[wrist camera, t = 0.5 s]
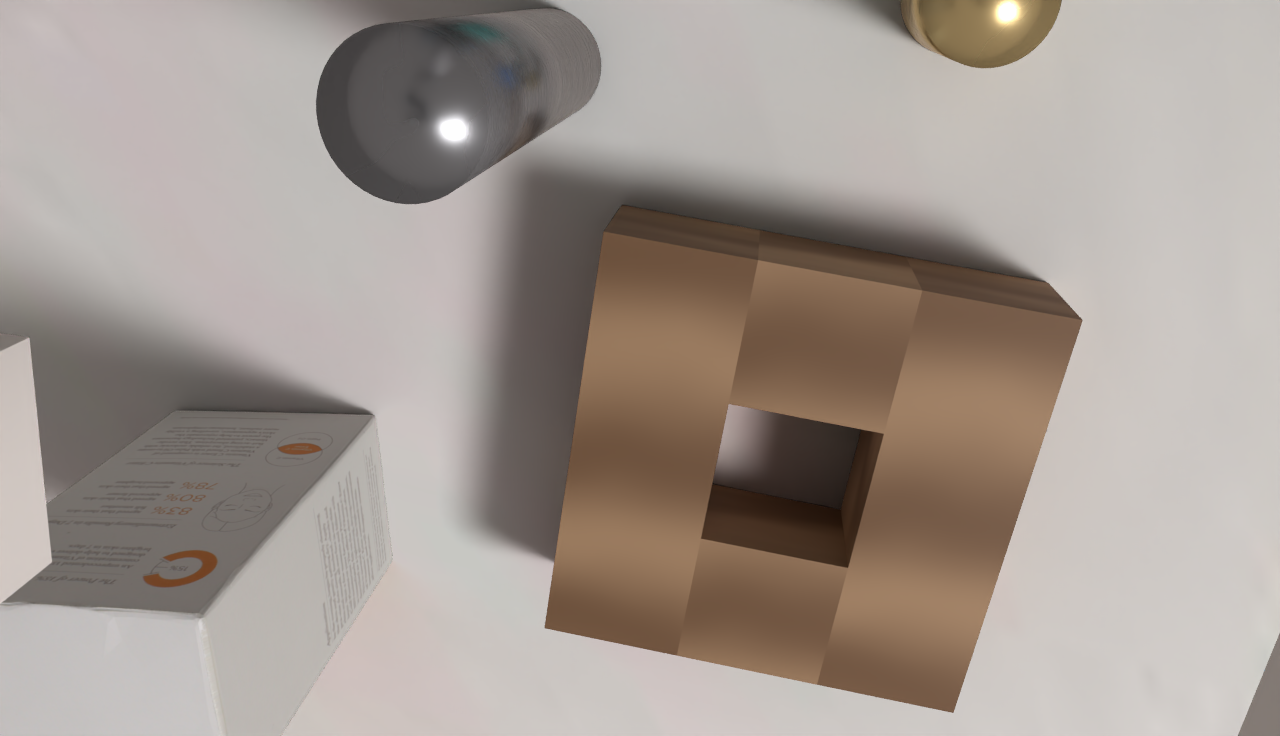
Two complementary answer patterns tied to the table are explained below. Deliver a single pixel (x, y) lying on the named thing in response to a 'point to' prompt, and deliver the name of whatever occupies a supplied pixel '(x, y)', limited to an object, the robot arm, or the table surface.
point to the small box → (198, 579)
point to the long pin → (450, 96)
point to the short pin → (980, 28)
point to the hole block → (817, 390)
